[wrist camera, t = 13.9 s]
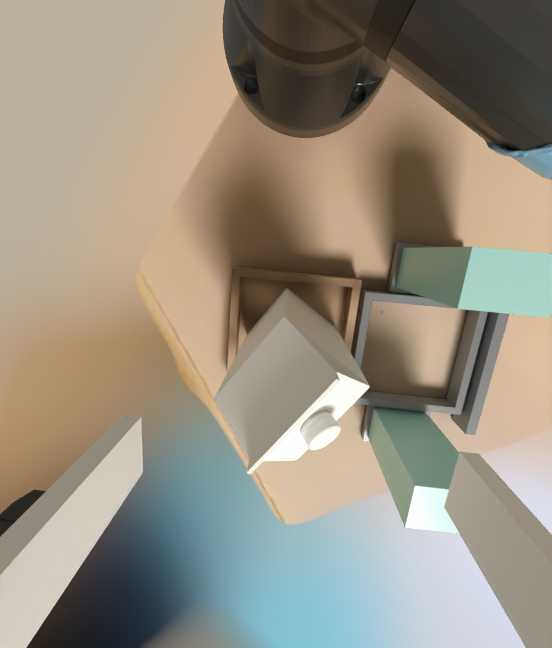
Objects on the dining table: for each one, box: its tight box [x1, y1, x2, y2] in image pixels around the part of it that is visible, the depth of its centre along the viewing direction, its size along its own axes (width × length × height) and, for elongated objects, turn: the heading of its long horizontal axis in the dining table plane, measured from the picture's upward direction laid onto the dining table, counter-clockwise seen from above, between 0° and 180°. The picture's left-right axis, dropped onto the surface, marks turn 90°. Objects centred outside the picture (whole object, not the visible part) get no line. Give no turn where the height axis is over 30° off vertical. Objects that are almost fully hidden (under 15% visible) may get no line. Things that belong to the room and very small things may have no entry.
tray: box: [227, 267, 362, 373], centre depth 33 cm, size 13×13×3 cm
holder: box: [351, 242, 552, 533], centre depth 28 cm, size 23×14×13 cm, turn 175°
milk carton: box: [214, 287, 370, 474], centre depth 24 cm, size 7×7×19 cm
